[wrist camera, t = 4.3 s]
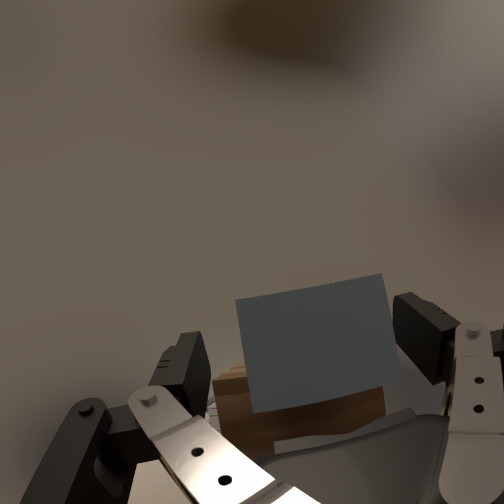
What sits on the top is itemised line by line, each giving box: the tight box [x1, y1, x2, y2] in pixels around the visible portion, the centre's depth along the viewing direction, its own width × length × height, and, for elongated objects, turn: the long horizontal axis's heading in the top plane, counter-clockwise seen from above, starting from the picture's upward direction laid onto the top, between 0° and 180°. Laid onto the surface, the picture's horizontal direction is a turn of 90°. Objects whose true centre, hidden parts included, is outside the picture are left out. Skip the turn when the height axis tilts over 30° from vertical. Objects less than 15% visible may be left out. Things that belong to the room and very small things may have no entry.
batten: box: [236, 273, 401, 413], centre depth 20 cm, size 26×4×3 cm, turn 177°
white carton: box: [207, 403, 221, 434], centre depth 92 cm, size 6×6×14 cm
